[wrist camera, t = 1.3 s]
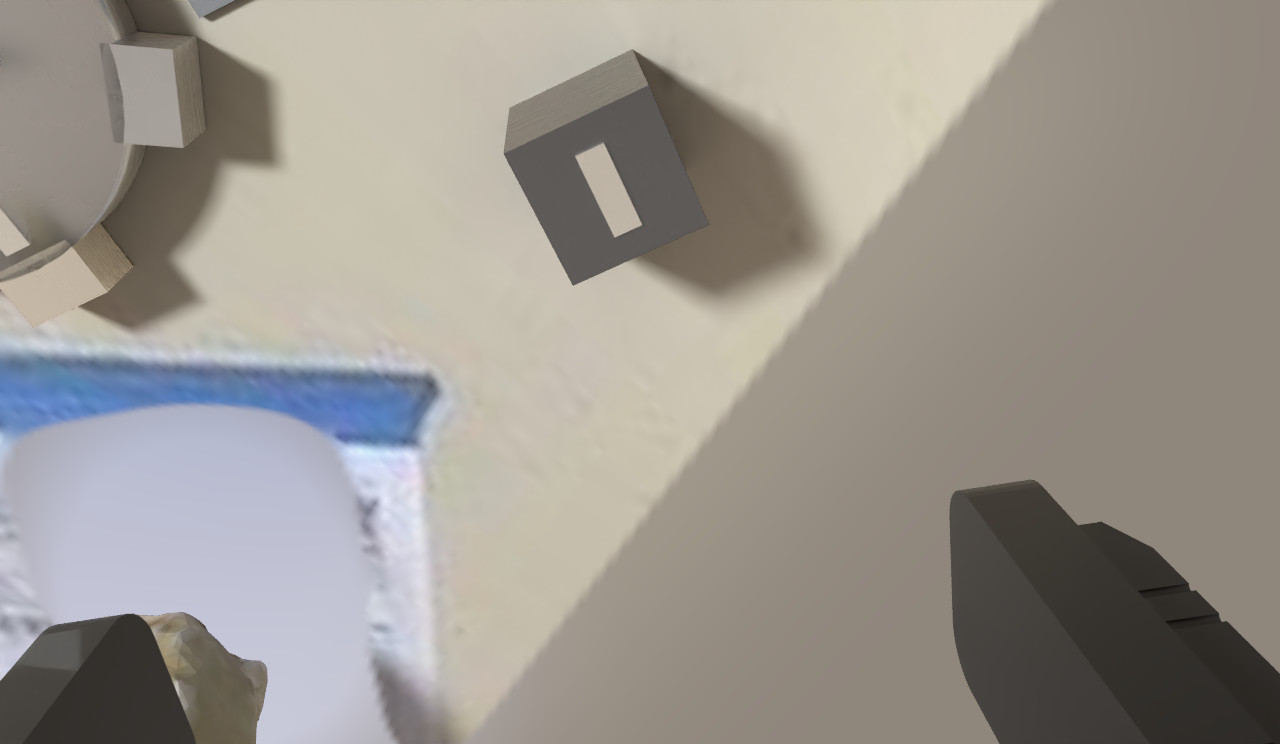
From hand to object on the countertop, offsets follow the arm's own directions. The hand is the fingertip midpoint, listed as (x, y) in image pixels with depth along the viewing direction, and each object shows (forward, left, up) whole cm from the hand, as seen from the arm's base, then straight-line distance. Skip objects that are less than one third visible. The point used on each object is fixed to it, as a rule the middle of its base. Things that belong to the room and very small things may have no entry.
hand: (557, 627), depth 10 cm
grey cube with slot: (+1, +1, -22) cm, 22 cm away
